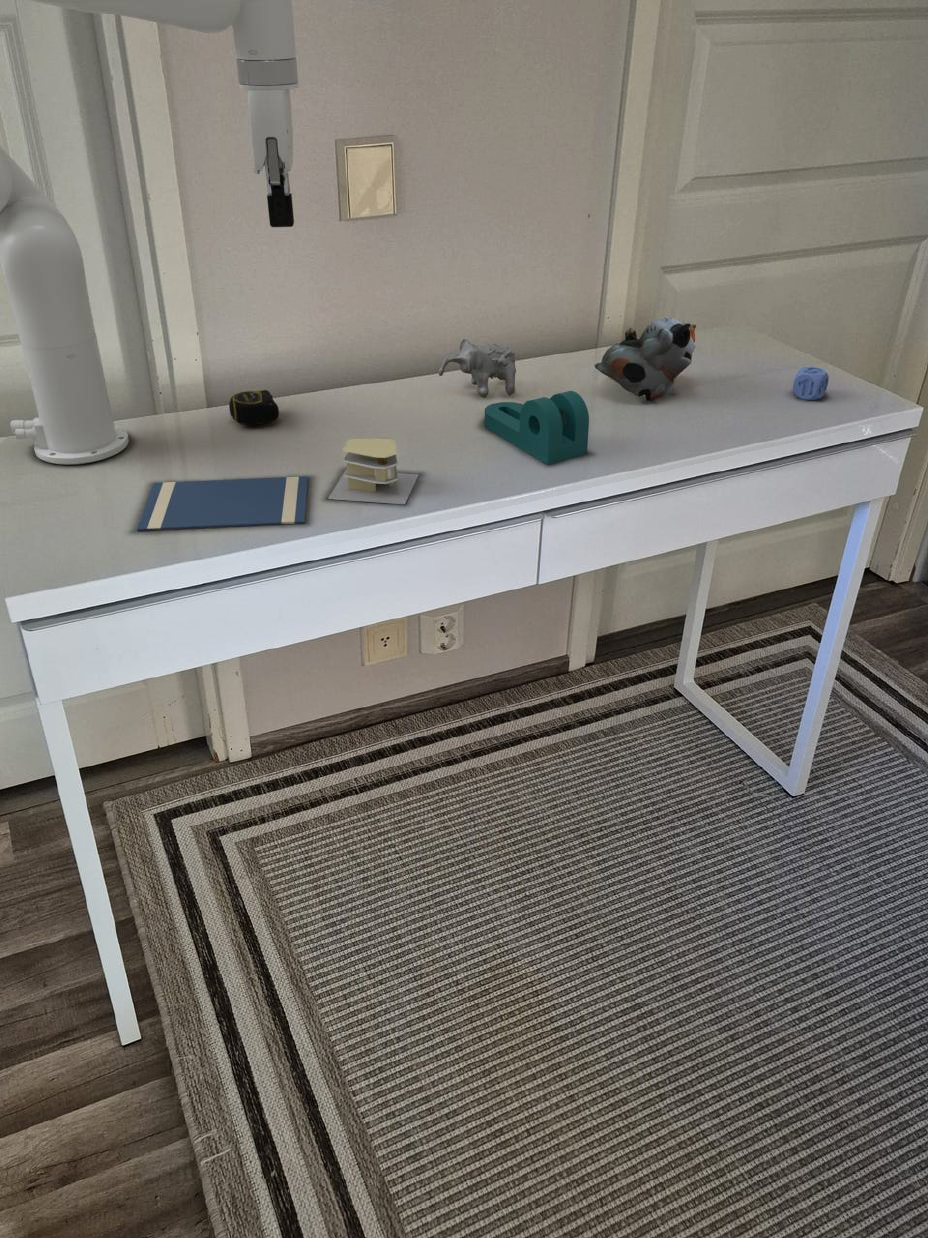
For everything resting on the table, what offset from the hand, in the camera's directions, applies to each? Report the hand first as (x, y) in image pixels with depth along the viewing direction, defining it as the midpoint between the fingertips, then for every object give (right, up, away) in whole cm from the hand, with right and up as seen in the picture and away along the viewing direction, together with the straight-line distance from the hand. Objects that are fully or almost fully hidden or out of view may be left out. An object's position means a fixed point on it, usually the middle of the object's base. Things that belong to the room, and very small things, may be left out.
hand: (282, 225), depth 141 cm
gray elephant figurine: (+27, -18, +22) cm, 40 cm away
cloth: (-5, -39, -11) cm, 41 cm away
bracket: (+34, -28, +6) cm, 45 cm away
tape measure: (-6, -24, +13) cm, 28 cm away
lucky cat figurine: (+53, -17, +23) cm, 61 cm away
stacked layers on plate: (+13, -37, -7) cm, 40 cm away
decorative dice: (+79, -19, +20) cm, 84 cm away
